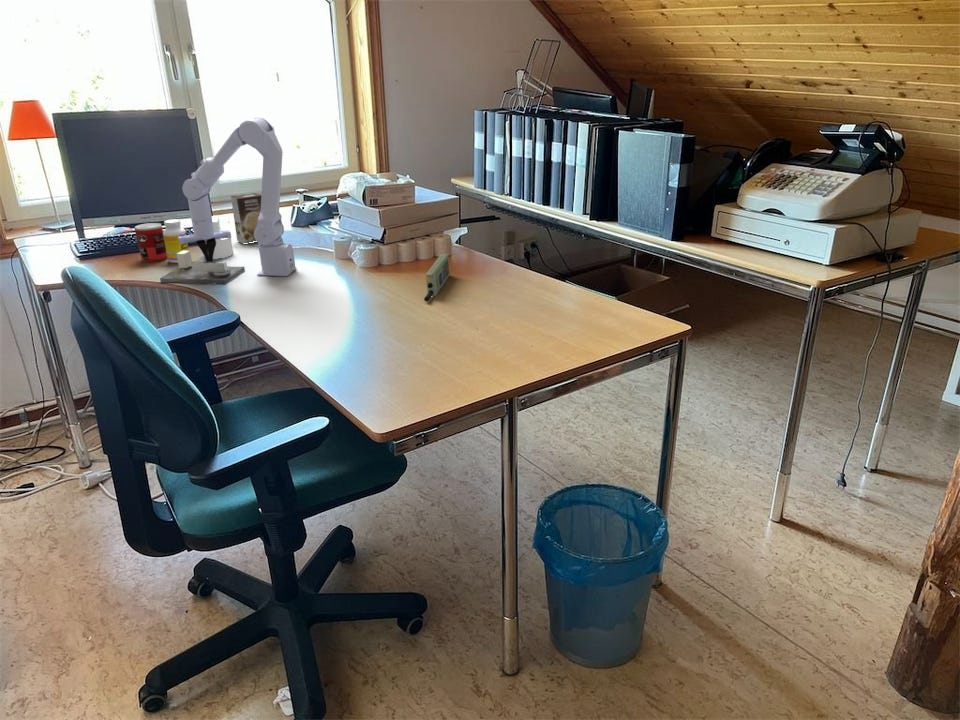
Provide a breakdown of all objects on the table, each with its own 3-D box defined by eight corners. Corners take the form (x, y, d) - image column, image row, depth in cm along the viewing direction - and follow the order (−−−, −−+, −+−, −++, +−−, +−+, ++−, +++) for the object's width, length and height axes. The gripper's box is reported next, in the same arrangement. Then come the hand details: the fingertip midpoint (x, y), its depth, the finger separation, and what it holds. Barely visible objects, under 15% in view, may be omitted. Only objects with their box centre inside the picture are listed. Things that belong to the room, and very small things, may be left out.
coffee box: (244, 245, 240) (237, 198, 233) (237, 241, 244) (229, 195, 238) (269, 240, 245) (262, 194, 238) (261, 237, 250) (255, 192, 243)
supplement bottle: (185, 263, 221) (177, 223, 215) (165, 263, 221) (156, 223, 215) (194, 257, 227) (186, 218, 221) (173, 257, 227) (166, 218, 222)
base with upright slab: (205, 253, 232) (198, 217, 227) (233, 250, 234) (227, 215, 229) (204, 260, 224) (197, 223, 219) (233, 257, 226) (227, 221, 221)
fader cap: (192, 264, 214) (189, 250, 212) (186, 268, 210) (184, 253, 209) (185, 264, 214) (182, 250, 212) (179, 267, 211) (176, 253, 209)
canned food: (141, 257, 227) (134, 224, 223) (167, 254, 230) (161, 221, 226) (141, 263, 221) (134, 229, 216) (169, 260, 224) (162, 226, 219)
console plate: (244, 270, 213) (244, 266, 212) (225, 283, 201) (224, 279, 200) (183, 269, 215) (182, 265, 214) (160, 282, 203) (159, 278, 203)
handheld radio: (451, 275, 206) (433, 304, 183) (440, 275, 206) (421, 304, 184) (449, 253, 203) (431, 279, 181) (438, 253, 204) (418, 279, 181)
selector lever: (233, 271, 207) (231, 259, 205) (226, 276, 202) (224, 264, 201) (198, 270, 208) (196, 259, 206) (190, 275, 203) (188, 263, 202)
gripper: (177, 225, 198) (186, 271, 204) (229, 219, 205) (237, 263, 210) (174, 220, 204) (183, 265, 210) (225, 214, 210) (232, 258, 216)
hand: (210, 264), depth 210 cm, fingers closed
